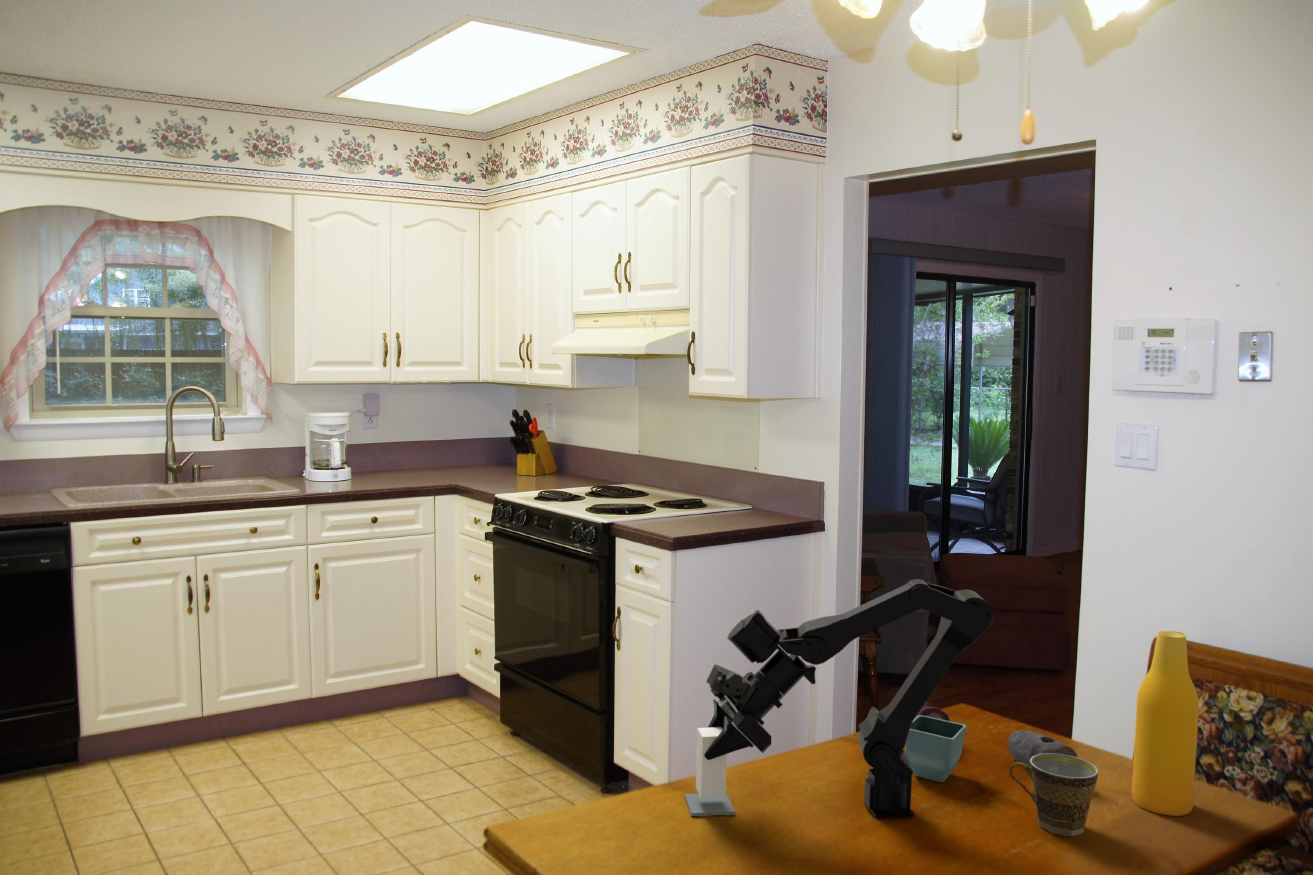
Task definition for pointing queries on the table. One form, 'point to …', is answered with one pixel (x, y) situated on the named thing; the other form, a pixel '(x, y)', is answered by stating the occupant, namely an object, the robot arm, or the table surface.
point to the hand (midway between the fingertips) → (703, 752)
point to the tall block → (709, 766)
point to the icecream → (933, 712)
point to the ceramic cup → (1060, 791)
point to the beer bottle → (1166, 731)
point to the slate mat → (709, 805)
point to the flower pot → (934, 747)
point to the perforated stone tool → (1035, 746)
